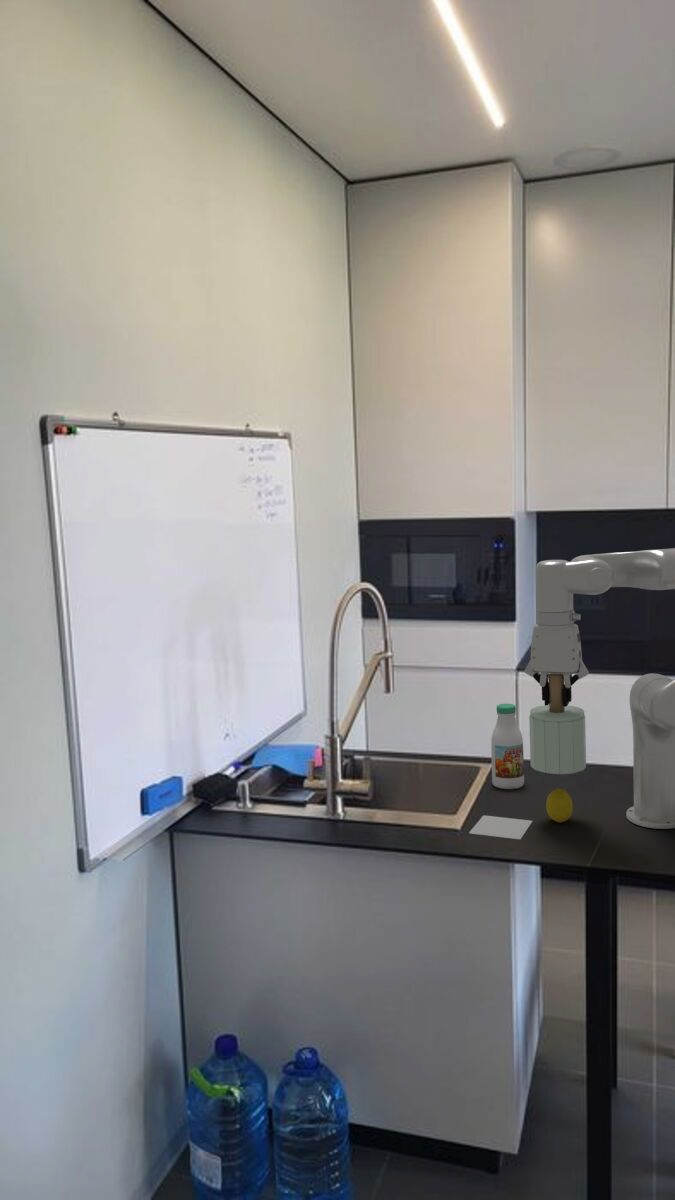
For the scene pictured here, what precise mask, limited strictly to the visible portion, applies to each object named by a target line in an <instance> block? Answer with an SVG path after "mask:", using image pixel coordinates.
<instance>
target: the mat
mask: <svg viewBox="0 0 675 1200" xmlns="http://www.w3.org/2000/svg"><path fill="white" fill-rule="evenodd" d="M532 823H533V820H529V819H519V818H510V817H501V816H493V815H482V816H481V817H480V819H479V820H478V822H477V823H476V824H475V825H474V826H473V827H472V829H470V830H469V832H468V834H472V835H479V836H485V837H486V836H487V837H496V838H505V839H513V840H522V838H523V836H524V835H525V833H526V832H527V830H528V828H529V827H530V826H531V824H532Z"/></svg>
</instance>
